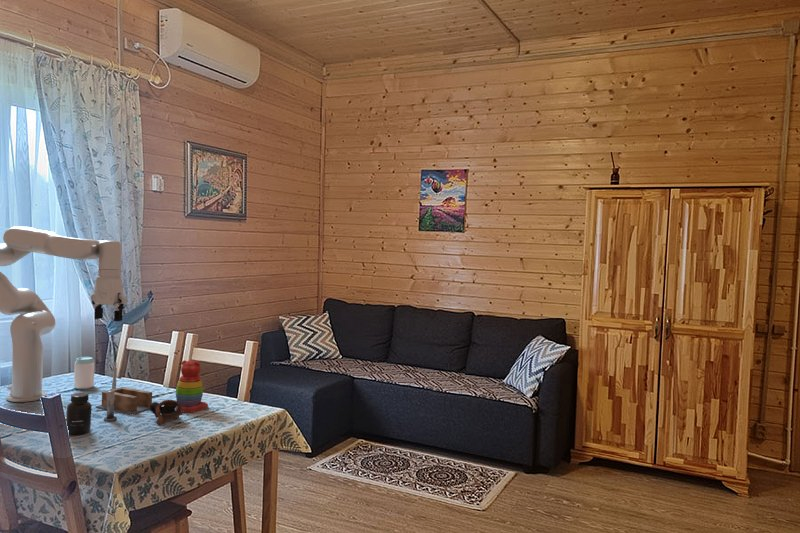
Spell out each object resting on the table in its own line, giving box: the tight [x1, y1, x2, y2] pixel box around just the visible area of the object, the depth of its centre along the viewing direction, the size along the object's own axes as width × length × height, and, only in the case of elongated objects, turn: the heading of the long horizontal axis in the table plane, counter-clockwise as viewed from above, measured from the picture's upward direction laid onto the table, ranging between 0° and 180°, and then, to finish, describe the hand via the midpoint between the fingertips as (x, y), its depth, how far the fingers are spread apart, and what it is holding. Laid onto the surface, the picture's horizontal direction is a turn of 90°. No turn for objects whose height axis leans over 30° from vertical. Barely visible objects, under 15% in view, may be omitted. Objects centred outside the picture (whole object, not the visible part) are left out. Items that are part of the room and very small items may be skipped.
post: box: [103, 390, 117, 422], centre depth 197 cm, size 4×4×10 cm
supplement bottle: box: [65, 392, 92, 436], centre depth 184 cm, size 7×7×12 cm
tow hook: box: [109, 361, 118, 390], centre depth 231 cm, size 8×13×9 cm
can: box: [73, 356, 95, 390], centre depth 236 cm, size 7×7×12 cm
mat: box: [95, 404, 150, 416], centre depth 213 cm, size 17×12×1 cm
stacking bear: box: [175, 360, 209, 413], centre depth 214 cm, size 11×10×18 cm
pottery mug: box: [149, 399, 183, 426], centre depth 199 cm, size 12×10×8 cm
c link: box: [101, 386, 153, 412], centre depth 212 cm, size 14×9×5 cm, turn 68°
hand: (108, 319), depth 219 cm, fingers open, 9 cm apart
